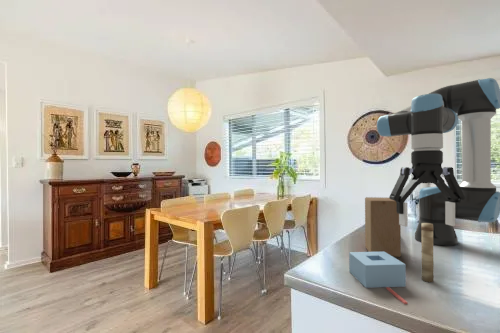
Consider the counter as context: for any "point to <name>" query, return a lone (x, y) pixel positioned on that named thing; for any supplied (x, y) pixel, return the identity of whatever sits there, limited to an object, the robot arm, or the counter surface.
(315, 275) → the counter surface
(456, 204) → the robot arm
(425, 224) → the tan brown rod
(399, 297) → the thin red rod
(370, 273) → the blue block with hole
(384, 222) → the wooden block
